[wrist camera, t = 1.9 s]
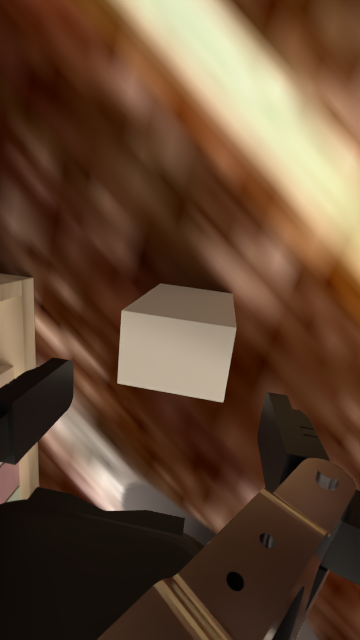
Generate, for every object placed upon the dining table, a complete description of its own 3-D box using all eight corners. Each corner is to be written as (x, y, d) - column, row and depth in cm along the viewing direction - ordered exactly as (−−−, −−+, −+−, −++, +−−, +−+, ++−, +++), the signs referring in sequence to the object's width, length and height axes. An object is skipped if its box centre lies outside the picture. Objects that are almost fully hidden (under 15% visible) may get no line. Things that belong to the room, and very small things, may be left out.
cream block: (160, 283, 23) (121, 310, 14) (232, 293, 22) (236, 328, 14) (155, 331, 24) (117, 383, 16) (224, 342, 24) (223, 402, 15)
